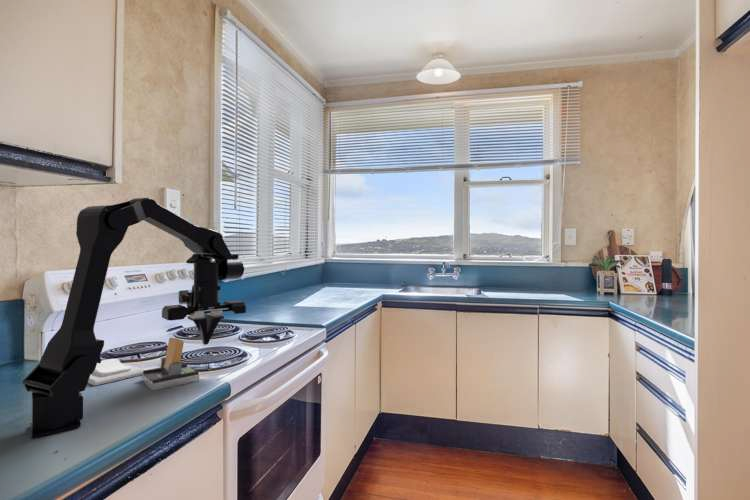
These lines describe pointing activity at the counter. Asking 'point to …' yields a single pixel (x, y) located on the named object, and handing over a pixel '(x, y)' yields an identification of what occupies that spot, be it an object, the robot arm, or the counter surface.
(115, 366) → the light switch
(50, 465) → the counter surface
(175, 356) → the lever
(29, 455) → the counter surface
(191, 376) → the toggle switch base
